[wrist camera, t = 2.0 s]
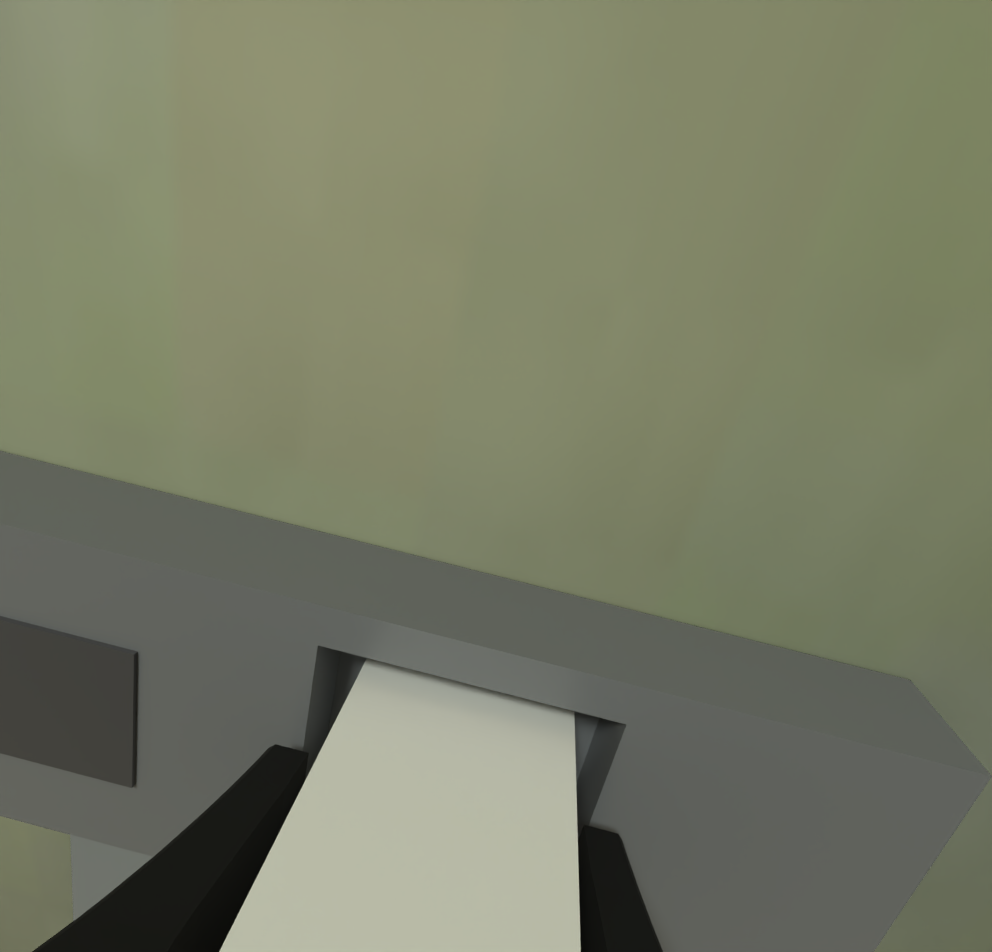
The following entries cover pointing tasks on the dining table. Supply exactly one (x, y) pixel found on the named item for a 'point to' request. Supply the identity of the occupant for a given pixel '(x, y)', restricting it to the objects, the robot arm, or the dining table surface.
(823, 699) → the power strip
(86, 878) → the pad
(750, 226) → the dining table surface
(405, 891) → the block
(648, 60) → the dining table surface
